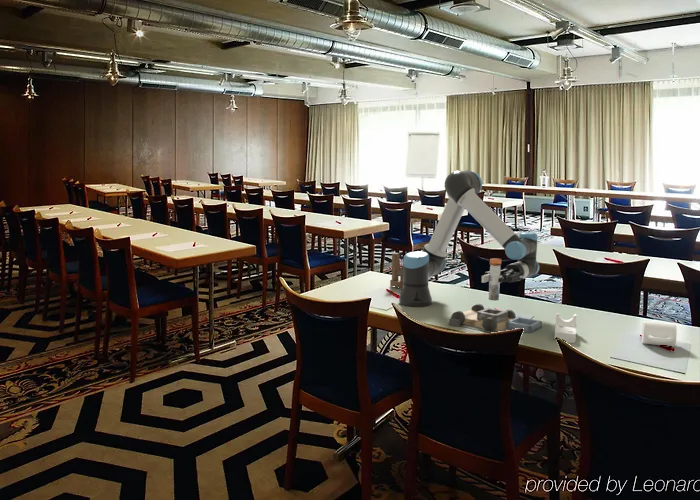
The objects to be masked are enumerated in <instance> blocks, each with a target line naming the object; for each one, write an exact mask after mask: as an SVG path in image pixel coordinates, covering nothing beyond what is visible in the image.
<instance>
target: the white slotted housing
mask: <svg viewBox="0 0 700 500" xmlns="http://www.w3.org/2000/svg"><path fill="white" fill-rule="evenodd" d="M676 325H677V324H675V323H666V322H657V321H647V320H644V321H643V322H642V327H641V343H642V344H644V345H654V346H660V345H668V346H667V347H669V346H672V347H671V348H675V346H676V344H677V326H676Z"/></svg>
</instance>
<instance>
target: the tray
mask: <svg viewBox="0 0 700 500" xmlns="http://www.w3.org/2000/svg"><path fill="white" fill-rule="evenodd" d="M542 325H543V321H542V320H537V319H533V318H532V319H531V318H527V317H521V316H516V318H514V319H511V320H509V321H507V322H506V328H505V329H511V330H514V329H515V328H524V332H523V333H527V332H528V334H532V333H533V332H535V331H537V330H539V329H542V327H543V326H542Z"/></svg>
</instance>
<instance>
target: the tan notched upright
mask: <svg viewBox="0 0 700 500" xmlns="http://www.w3.org/2000/svg"><path fill="white" fill-rule="evenodd" d="M399 258H400V254H399V252H392V253H391V279H390V280H389V284H390V285H389V287H391V286H395V287H399V288H403V265H402V266H401V267H399V265H400V264H399V263H400V259H399ZM399 277H400V278H399ZM395 287H394V288H395ZM399 288H398V289H399Z"/></svg>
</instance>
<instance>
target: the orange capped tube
mask: <svg viewBox="0 0 700 500" xmlns="http://www.w3.org/2000/svg"><path fill="white" fill-rule="evenodd" d="M489 265H490V266H489V271H490V279H489V281H488V300H489V301H494V302H495V301H499V300H500V285H501V283H499V284H495V285H492V280H493V278H494V277H497V276H500V270H502V268H501V266H502V258H497V257H496V258H495V257H494V258H493V257H492V258H490V259H489Z"/></svg>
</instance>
